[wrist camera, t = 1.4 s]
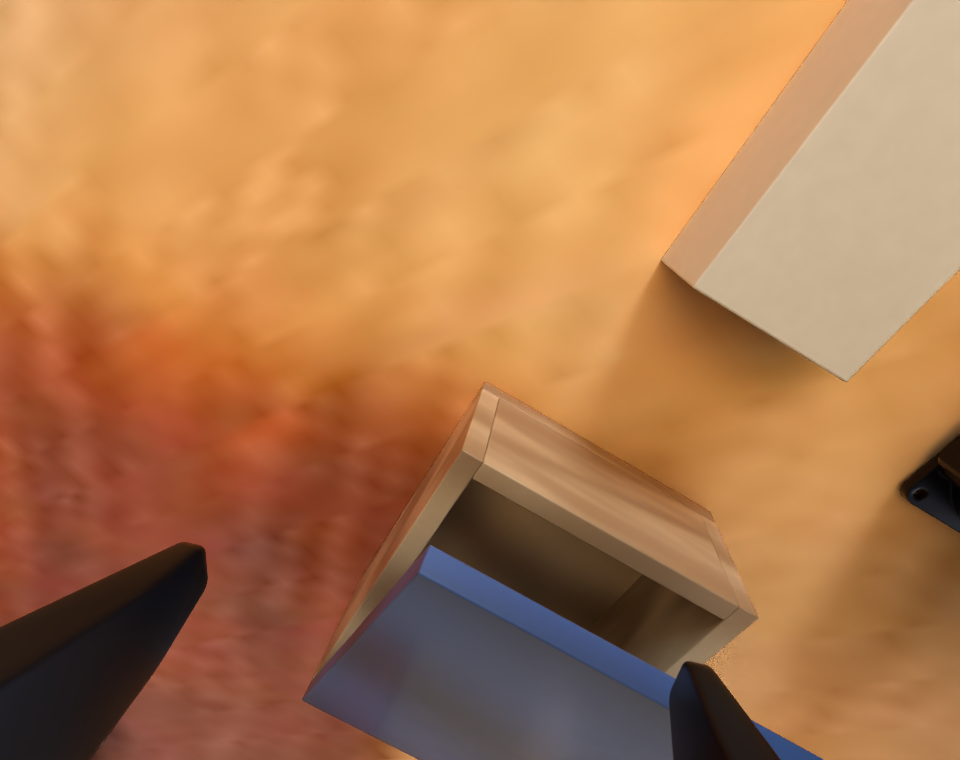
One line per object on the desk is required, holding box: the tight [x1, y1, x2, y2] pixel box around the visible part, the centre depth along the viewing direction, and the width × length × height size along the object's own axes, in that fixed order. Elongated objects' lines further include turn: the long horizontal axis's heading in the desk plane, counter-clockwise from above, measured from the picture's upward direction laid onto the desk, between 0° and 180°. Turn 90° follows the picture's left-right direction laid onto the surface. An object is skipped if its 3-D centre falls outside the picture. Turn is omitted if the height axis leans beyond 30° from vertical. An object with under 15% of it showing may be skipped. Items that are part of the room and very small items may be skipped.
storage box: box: [312, 382, 758, 680], centre depth 22 cm, size 14×12×6 cm
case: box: [661, 0, 960, 382], centre depth 14 cm, size 11×5×5 cm, turn 151°
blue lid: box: [302, 545, 823, 760], centre depth 17 cm, size 14×12×1 cm
